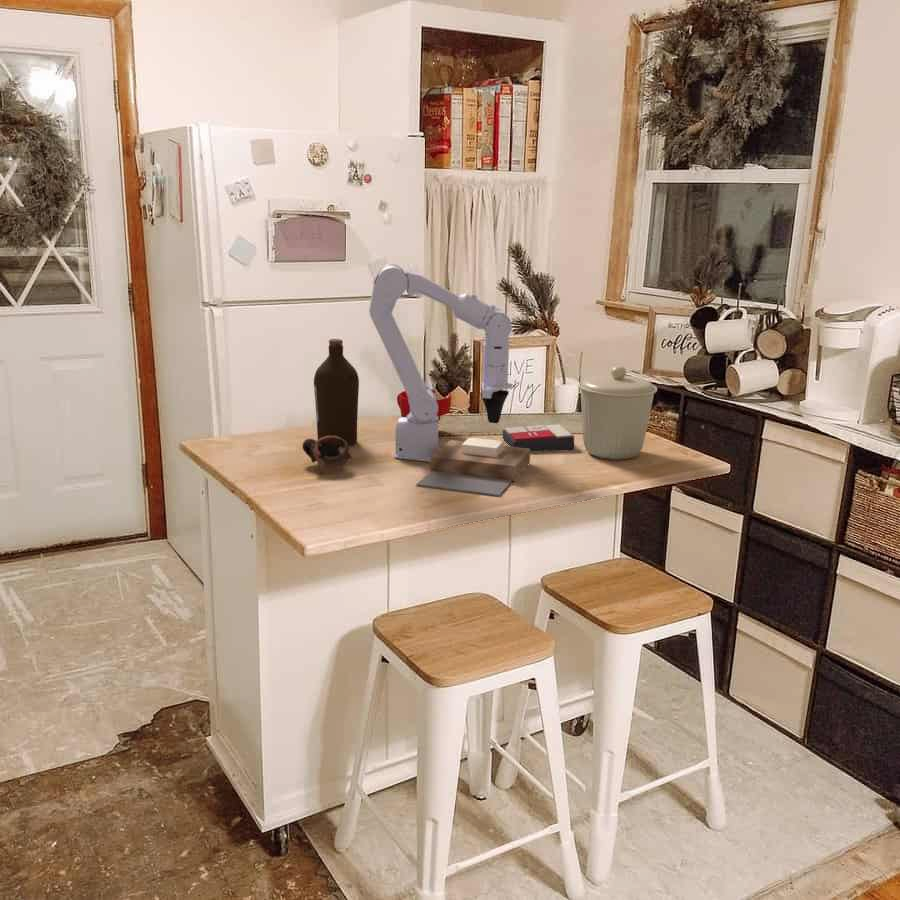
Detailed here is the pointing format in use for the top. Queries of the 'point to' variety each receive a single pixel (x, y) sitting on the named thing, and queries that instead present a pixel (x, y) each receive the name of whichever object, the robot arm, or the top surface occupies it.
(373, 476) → the top surface
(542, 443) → the calculator
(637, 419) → the canister
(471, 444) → the tile
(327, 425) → the olive oil
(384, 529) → the top surface
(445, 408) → the ceramic cup
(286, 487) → the top surface
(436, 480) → the mat
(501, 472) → the block
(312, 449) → the pottery mug
